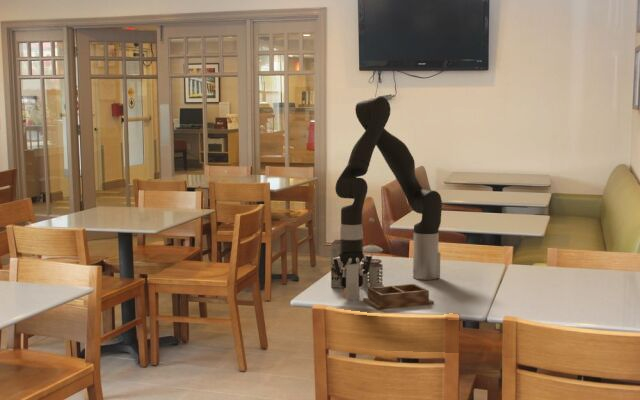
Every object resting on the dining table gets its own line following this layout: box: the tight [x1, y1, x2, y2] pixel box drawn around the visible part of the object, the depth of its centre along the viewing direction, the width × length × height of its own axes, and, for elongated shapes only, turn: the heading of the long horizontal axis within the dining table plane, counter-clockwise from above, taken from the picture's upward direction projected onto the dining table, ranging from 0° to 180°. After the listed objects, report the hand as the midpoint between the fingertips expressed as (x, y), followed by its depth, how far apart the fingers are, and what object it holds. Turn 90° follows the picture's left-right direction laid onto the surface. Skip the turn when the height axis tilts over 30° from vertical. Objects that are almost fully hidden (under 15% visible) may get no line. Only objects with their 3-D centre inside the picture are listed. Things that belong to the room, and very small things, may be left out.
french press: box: [359, 217, 384, 292], centre depth 270 cm, size 10×12×25 cm
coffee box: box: [330, 239, 343, 289], centre depth 275 cm, size 9×6×16 cm
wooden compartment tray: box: [362, 283, 435, 311], centre depth 251 cm, size 20×12×4 cm, turn 110°
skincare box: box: [344, 264, 360, 301], centre depth 256 cm, size 6×4×12 cm
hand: (351, 286), depth 257 cm, fingers closed on skincare box, 5 cm apart
